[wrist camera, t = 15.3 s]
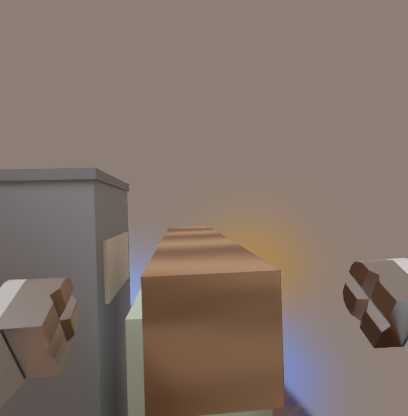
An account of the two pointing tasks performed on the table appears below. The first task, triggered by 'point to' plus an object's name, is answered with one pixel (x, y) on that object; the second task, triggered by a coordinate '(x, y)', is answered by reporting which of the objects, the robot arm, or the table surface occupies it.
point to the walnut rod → (210, 327)
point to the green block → (137, 366)
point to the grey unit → (80, 277)
